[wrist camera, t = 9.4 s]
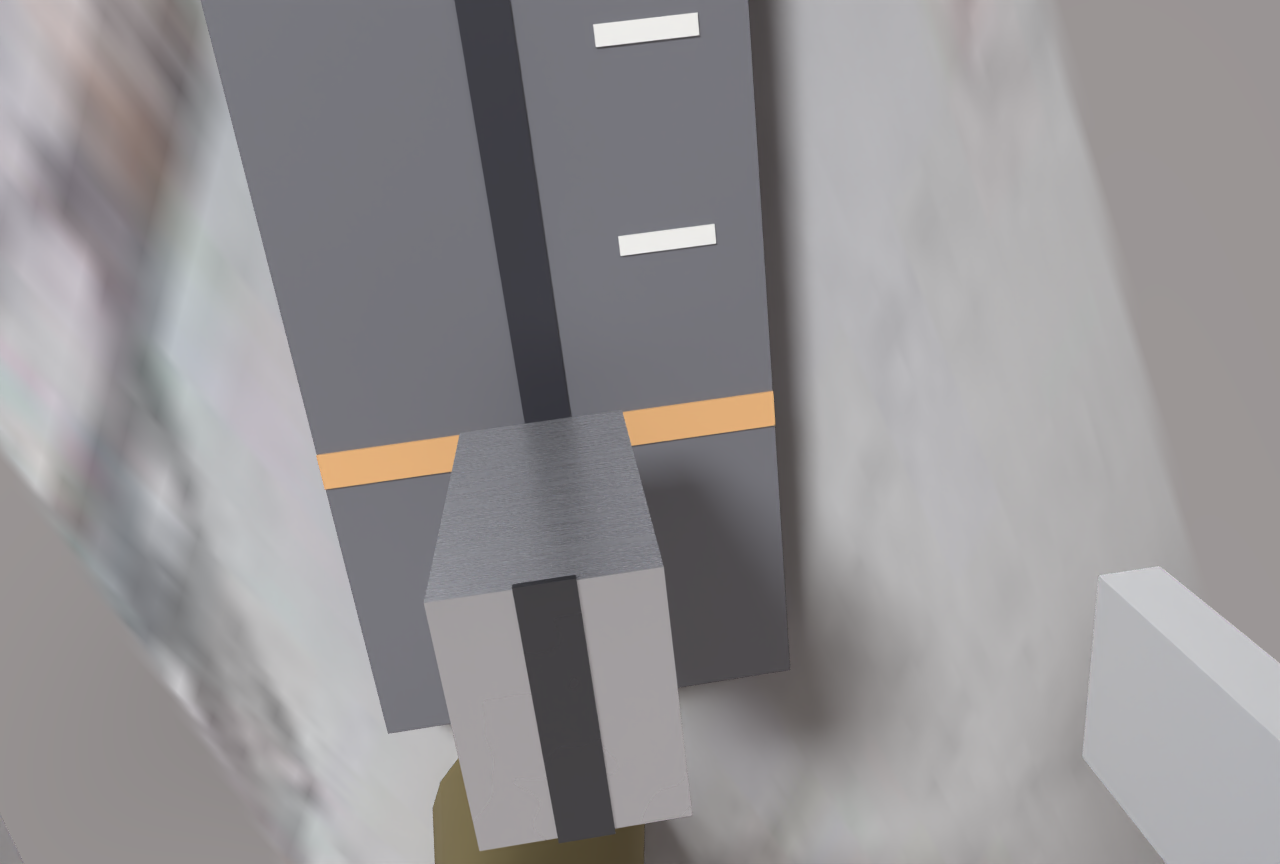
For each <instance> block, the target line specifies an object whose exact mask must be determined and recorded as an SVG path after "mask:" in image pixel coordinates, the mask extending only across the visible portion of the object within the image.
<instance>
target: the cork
mask: <svg viewBox="0 0 1280 864" xmlns="http://www.w3.org/2000/svg"><path fill="white" fill-rule="evenodd" d="M433 827H434V852H435V864H644V833H645V824H639V825H633V826H627V827H621V828H615V832H616V834H613V835H607V836H601V837H595V838H589V839H583V840H577V841H571V842H565V843H559V842H558V838H555V839H549V840H543V841H538V842H532V843H526V844H520V845H514V846H508V847H502V848H496V849H490V850H484V851H479V847H478V842H477V838H476V834H475V829H474V825H473V820H472V816H471V811H470V807H469V802H468V798H467V793H466V789H465V785H464V780H463V776H462V771H461V767H460V762H459V758H458V760H457V761H456V762H455V764H454V765H453V766H452V767H451V769H450V770H449V771H448V773H447V774H446V775H445V777H444V778H443V779H442V781H441V782H440V786H439V789H438V792H437V796H436V799H435V802H434V806H433Z"/></svg>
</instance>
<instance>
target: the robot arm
mask: <svg viewBox="0 0 1280 864" xmlns="http://www.w3.org/2000/svg"><path fill="white" fill-rule="evenodd" d="M1082 757H1083V759H1084V760H1085V761H1086V763H1087V764H1088V765H1089V766H1090V768H1091V769H1092V770H1093V771H1094V773H1095V774H1096V775H1097V777H1098V778H1099V779H1100V780H1101V782H1102V783H1103V784H1104V785H1105V787H1106V788H1107V789H1108V791H1109V792H1110V793H1111V794H1112V796H1113V797H1114V798H1115V799H1116V801H1117V802H1118V803H1119V805H1120V806H1121V807H1122V808H1123V810H1124V811H1125V812H1126V813H1127V815H1128V816H1129V817H1130V819H1131V820H1132V821H1133V822H1134V824H1135V825H1136V826H1137V827H1138V829H1139V830H1140V831H1141V832H1142V834H1143V835H1144V836H1145V838H1146V839H1147V840H1148V841H1149V843H1150V844H1151V845H1152V846H1153V848H1154V849H1155V850H1156V852H1157V853H1158V854H1159V855H1160V857H1161V858H1162V859H1163V860H1164V862H1165V863H1166V864H1280V663H1279V662H1278V661H1277V660H1275V659H1274V658H1273V657H1272V656H1270V655H1269V654H1268V653H1267V652H1265V651H1264V650H1263V649H1262V648H1260V647H1259V646H1258V645H1257V644H1255V643H1254V642H1253V641H1252V640H1251V639H1249V638H1248V637H1247V636H1246V635H1244V634H1243V633H1242V632H1241V631H1239V630H1238V629H1237V628H1235V627H1234V626H1233V625H1232V624H1231V623H1230V622H1228V621H1227V620H1226V619H1225V618H1223V617H1222V616H1221V615H1220V614H1218V613H1217V612H1216V611H1215V610H1214V609H1212V608H1211V607H1210V606H1209V605H1207V604H1206V603H1205V602H1204V601H1202V600H1201V599H1200V598H1199V597H1197V596H1196V595H1195V594H1194V593H1192V592H1191V591H1190V590H1189V589H1188V588H1186V587H1185V586H1184V585H1183V584H1181V583H1180V582H1179V581H1178V580H1176V579H1175V578H1174V577H1173V576H1171V575H1170V574H1169V573H1168V572H1167V571H1165V570H1164V569H1163V568H1162V567H1160V566H1157V567H1150V568H1144V569H1137V570H1131V571H1124V572H1118V573H1111V574H1105V575H1098V586H1097V598H1096V609H1095V620H1094V631H1093V642H1092V653H1091V664H1090V676H1089V687H1088V698H1087V709H1086V720H1085V731H1084V742H1083V753H1082ZM0 864H24V862H23V860H22V858H21V856H20V854H19V852H18V850H17V848H16V846H15V843H14V841H13V839H12V837H11V835H10V833H9V831H8V829H7V827H6V825H5V823H4V820H3V818H2V816H1V814H0Z"/></svg>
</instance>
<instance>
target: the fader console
mask: <svg viewBox="0 0 1280 864" xmlns="http://www.w3.org/2000/svg"><path fill="white" fill-rule="evenodd" d="M201 3H202V7H203V11H204V15H205V19H206V23H207V27H208V31H209V35H210V38H211V42H212V46H213V50H214V54H215V58H216V62H217V66H218V70H219V74H220V78H221V81H222V85H223V89H224V93H225V97H226V101H227V105H228V109H229V113H230V117H231V121H232V125H233V128H234V132H235V136H236V140H237V144H238V148H239V152H240V156H241V160H242V164H243V168H244V172H245V175H246V179H247V183H248V187H249V191H250V195H251V199H252V203H253V207H254V211H255V215H256V218H257V222H258V226H259V230H260V234H261V238H262V242H263V246H264V250H265V254H266V258H267V262H268V265H269V269H270V273H271V277H272V281H273V285H274V289H275V293H276V297H277V301H278V305H279V309H280V312H281V316H282V320H283V324H284V328H285V332H286V336H287V340H288V344H289V348H290V352H291V355H292V359H293V363H294V367H295V371H296V375H297V379H298V383H299V387H300V391H301V395H302V399H303V402H304V406H305V410H306V414H307V418H308V422H309V426H310V430H311V434H312V438H313V442H314V445H315V449H316V453H317V456H316V457H317V461H318V465H319V468H320V472H321V476H322V480H323V484H324V488H325V490H326V492H327V496H328V500H329V504H330V508H331V512H332V516H333V520H334V524H335V528H336V532H337V536H338V539H339V543H340V547H341V551H342V555H343V559H344V563H345V567H346V571H347V575H348V579H349V582H350V586H351V590H352V594H353V598H354V602H355V606H356V610H357V614H358V618H359V622H360V626H361V629H362V633H363V637H364V641H365V645H366V649H367V653H368V657H369V661H370V665H371V669H372V672H373V676H374V680H375V684H376V688H377V692H378V696H379V700H380V704H381V708H382V712H383V716H384V719H385V723H386V727H387V731H388V734H389V733H395V732H402V731H408V730H414V729H421V728H427V727H433V726H440V725H446V724H451V722H450V718H449V713H448V709H447V704H446V700H445V696H444V691H443V687H442V682H441V678H440V673H439V669H438V664H437V660H436V655H435V651H434V647H433V642H432V638H431V633H430V629H429V624H428V620H427V615H426V611H425V607H424V600H425V595H426V590H427V585H428V581H429V576H430V571H431V567H432V562H433V557H434V552H435V548H436V543H437V538H438V534H439V529H440V524H441V519H442V515H443V510H444V505H445V501H446V496H447V491H448V486H449V482H450V477H451V472H452V468H453V463H454V458H455V454H456V449H457V444H458V439H459V435H460V433H462V432H469V431H476V430H483V429H490V428H498V427H505V426H512V425H519V424H526V423H533V422H540V421H547V420H555V419H562V418H569V417H576V416H583V415H590V414H597V413H604V412H612V411H619V410H622V412H623V416H624V419H625V423H626V427H627V431H628V434H629V438H630V442H631V446H632V449H633V453H634V457H635V461H636V464H637V468H638V472H639V476H640V480H641V483H642V487H643V491H644V495H645V498H646V502H647V506H648V510H649V513H650V517H651V521H652V525H653V528H654V532H655V536H656V540H657V544H658V547H659V551H660V555H661V559H662V562H663V566H664V574H665V582H666V591H667V600H668V608H669V617H670V626H671V634H672V643H673V652H674V660H675V669H676V678H677V686H678V688H679V687H686V686H692V685H698V684H705V683H711V682H717V681H723V680H730V679H736V678H742V677H749V676H755V675H761V674H768V673H774V672H780V671H787V670H790V660H789V644H788V628H787V612H786V596H785V581H784V565H783V549H782V533H781V517H780V501H779V485H778V469H777V453H776V437H775V411H774V395H773V389H772V373H771V357H770V341H769V325H768V309H767V293H766V277H765V261H764V245H763V229H762V213H761V197H760V181H759V165H758V149H757V133H756V117H755V101H754V85H753V69H752V53H751V37H750V21H749V5H748V0H201Z"/></svg>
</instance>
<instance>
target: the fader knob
mask: <svg viewBox="0 0 1280 864" xmlns="http://www.w3.org/2000/svg"><path fill="white" fill-rule="evenodd" d="M424 607H425V611H426V615H427V620H428V624H429V629H430V633H431V638H432V642H433V647H434V651H435V655H436V660H437V664H438V669H439V673H440V678H441V682H442V687H443V691H444V696H445V700H446V704H447V709H448V713H449V718H450V722H451V727H452V731H453V736H454V740H455V745H456V749H457V753H458V758H459V762H460V767H461V771H462V776H463V780H464V785H465V789H466V793H467V798H468V802H469V807H470V811H471V816H472V820H473V825H474V829H475V834H476V838H477V842H478V847H479V851H484V850H490V849H496V848H502V847H508V846H514V845H520V844H526V843H532V842H538V841H543V840H549V839H555V838H558V842H559V843H565V842H571V841H577V840H583V839H589V838H595V837H601V836H607V835H613V834H616V832H615V828H621V827H627V826H633V825H639V824H645V823H651V822H657V821H663V820H669V819H675V818H681V817H687V816H692V808H691V799H690V790H689V782H688V773H687V764H686V756H685V747H684V738H683V730H682V721H681V712H680V704H679V695H678V686H677V678H676V669H675V660H674V652H673V643H672V634H671V626H670V617H669V608H668V600H667V591H666V582H665V574H664V566H663V562H662V559H661V555H660V551H659V547H658V544H657V540H656V536H655V532H654V528H653V525H652V521H651V517H650V513H649V510H648V506H647V502H646V498H645V495H644V491H643V487H642V483H641V480H640V476H639V472H638V468H637V464H636V461H635V457H634V453H633V449H632V446H631V442H630V438H629V434H628V431H627V427H626V423H625V419H624V416H623V412H622V410H619V411H612V412H604V413H597V414H590V415H583V416H576V417H569V418H562V419H555V420H547V421H540V422H533V423H526V424H519V425H512V426H505V427H498V428H490V429H483V430H476V431H469V432H462V433H460V435H459V439H458V444H457V449H456V454H455V458H454V463H453V468H452V472H451V477H450V482H449V486H448V491H447V496H446V501H445V505H444V510H443V515H442V519H441V524H440V529H439V534H438V538H437V543H436V548H435V552H434V557H433V562H432V567H431V571H430V576H429V581H428V585H427V590H426V595H425V600H424Z"/></svg>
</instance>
